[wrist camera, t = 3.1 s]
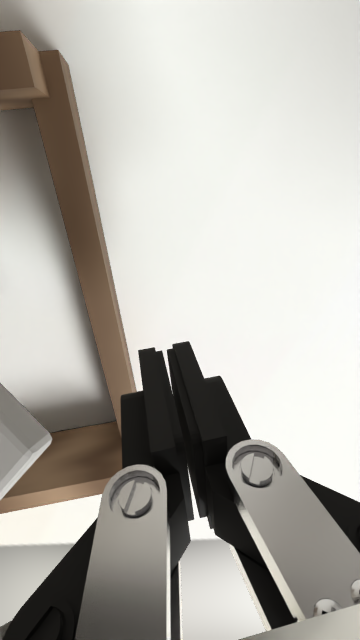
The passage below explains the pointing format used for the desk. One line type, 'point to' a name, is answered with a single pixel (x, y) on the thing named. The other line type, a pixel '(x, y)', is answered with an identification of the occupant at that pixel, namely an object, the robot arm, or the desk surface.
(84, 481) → the walnut open frame
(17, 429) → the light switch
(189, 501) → the robot arm
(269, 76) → the desk surface
